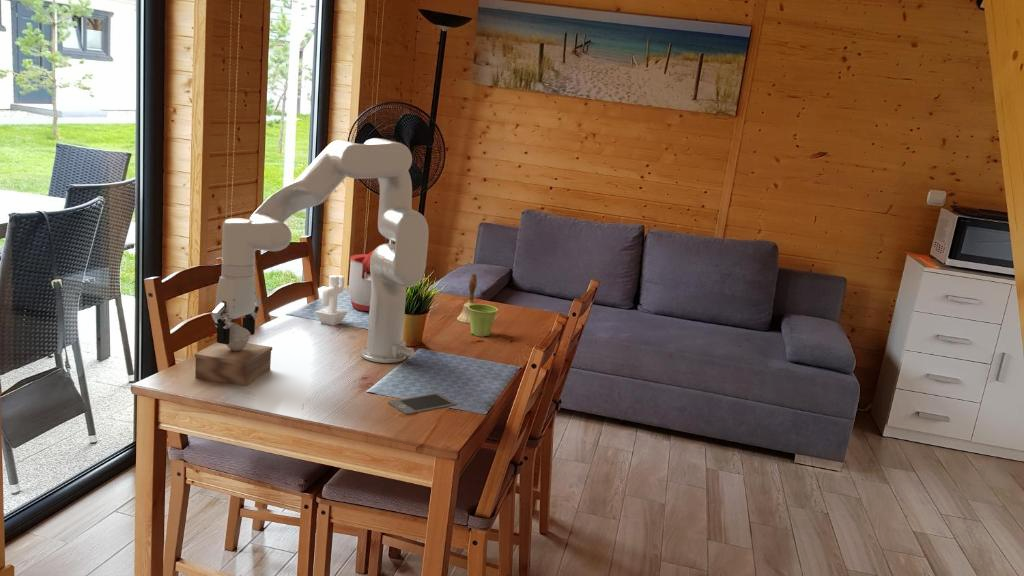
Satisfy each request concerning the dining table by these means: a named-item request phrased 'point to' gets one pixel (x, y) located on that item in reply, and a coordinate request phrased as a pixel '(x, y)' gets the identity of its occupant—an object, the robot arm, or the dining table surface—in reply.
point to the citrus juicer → (360, 281)
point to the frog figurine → (238, 337)
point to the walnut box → (233, 363)
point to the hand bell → (465, 313)
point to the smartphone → (421, 403)
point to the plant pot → (481, 319)
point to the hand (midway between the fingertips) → (236, 338)
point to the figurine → (332, 302)
